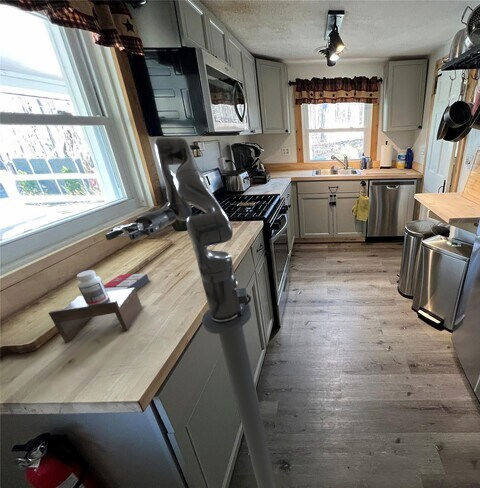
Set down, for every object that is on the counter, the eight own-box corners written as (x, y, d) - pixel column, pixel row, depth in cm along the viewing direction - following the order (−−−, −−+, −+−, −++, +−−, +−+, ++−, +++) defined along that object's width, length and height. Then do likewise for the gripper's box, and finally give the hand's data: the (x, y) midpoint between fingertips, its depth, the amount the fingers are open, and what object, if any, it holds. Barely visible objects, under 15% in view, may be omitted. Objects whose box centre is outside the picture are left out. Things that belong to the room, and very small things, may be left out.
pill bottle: (91, 298, 81) (79, 270, 77) (112, 294, 82) (100, 267, 78) (83, 308, 76) (69, 279, 72) (104, 304, 77) (92, 275, 74)
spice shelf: (142, 307, 89) (132, 281, 85) (127, 330, 78) (115, 301, 74) (87, 316, 85) (74, 289, 81) (64, 342, 74) (48, 313, 70)
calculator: (147, 272, 104) (120, 291, 90) (149, 281, 106) (124, 302, 92) (119, 273, 104) (88, 293, 90) (123, 283, 106) (93, 303, 92)
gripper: (132, 213, 99) (94, 227, 84) (167, 212, 98) (135, 226, 83) (138, 231, 102) (103, 248, 87) (172, 231, 101) (142, 247, 86)
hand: (118, 237), depth 85 cm, fingers open, 8 cm apart
